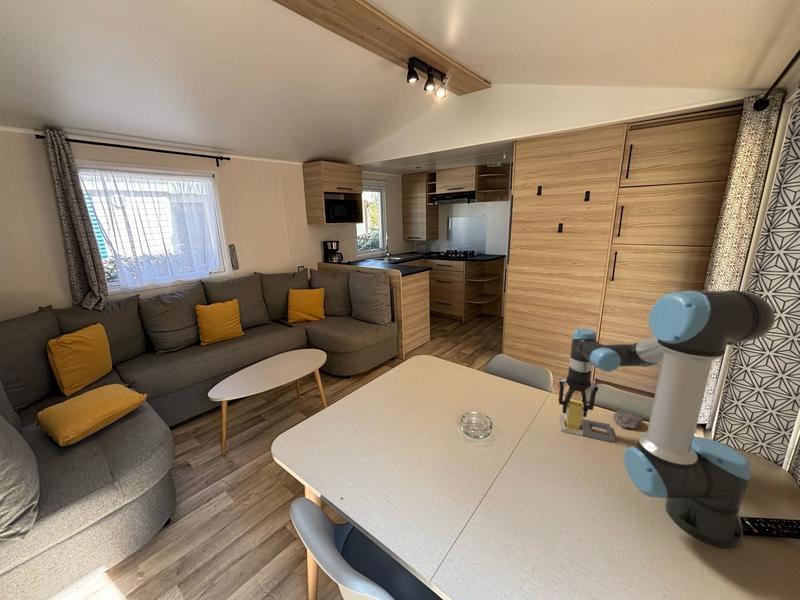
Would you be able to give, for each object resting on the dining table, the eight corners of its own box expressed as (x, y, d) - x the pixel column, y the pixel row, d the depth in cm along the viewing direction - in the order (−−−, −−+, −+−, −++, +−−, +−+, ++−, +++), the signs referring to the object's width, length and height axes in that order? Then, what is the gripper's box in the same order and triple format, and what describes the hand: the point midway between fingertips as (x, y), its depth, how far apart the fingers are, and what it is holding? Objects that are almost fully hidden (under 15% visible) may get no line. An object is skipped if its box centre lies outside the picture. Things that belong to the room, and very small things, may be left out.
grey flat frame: (614, 442, 116) (615, 439, 116) (560, 431, 123) (561, 428, 122) (609, 426, 125) (609, 424, 125) (559, 416, 132) (559, 414, 131)
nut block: (579, 429, 122) (582, 407, 120) (566, 427, 124) (569, 404, 122) (578, 423, 127) (581, 401, 124) (565, 420, 128) (568, 399, 126)
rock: (643, 423, 127) (645, 414, 126) (632, 433, 121) (634, 424, 120) (619, 413, 134) (620, 404, 133) (607, 422, 128) (608, 413, 127)
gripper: (604, 367, 119) (596, 421, 125) (554, 360, 126) (548, 411, 132) (609, 376, 113) (600, 432, 118) (555, 368, 119) (549, 422, 125)
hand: (573, 421), depth 125 cm, fingers closed on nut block, 4 cm apart
